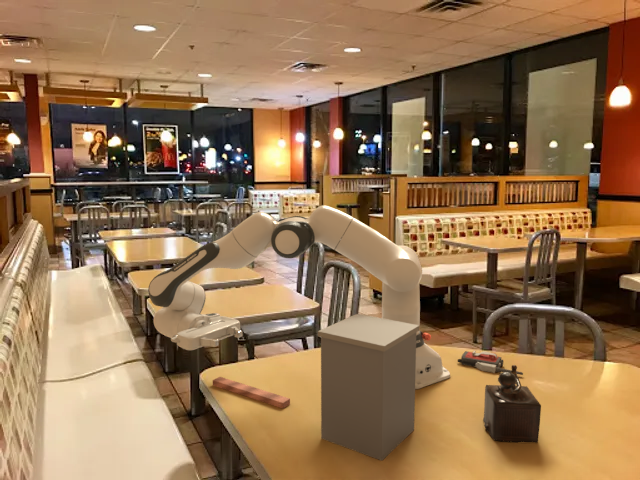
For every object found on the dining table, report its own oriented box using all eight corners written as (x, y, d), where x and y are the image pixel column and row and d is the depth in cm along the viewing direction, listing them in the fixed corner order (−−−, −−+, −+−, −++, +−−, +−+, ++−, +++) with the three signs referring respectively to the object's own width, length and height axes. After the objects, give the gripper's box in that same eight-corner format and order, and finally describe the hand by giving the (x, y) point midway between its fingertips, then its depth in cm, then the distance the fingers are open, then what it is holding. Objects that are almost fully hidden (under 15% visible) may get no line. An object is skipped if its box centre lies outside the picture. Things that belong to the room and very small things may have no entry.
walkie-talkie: (455, 367, 165) (522, 379, 155) (455, 353, 165) (523, 365, 155) (462, 358, 173) (526, 369, 163) (462, 345, 172) (527, 355, 162)
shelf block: (318, 438, 122) (317, 331, 118) (356, 410, 135) (357, 313, 132) (382, 462, 112) (384, 346, 108) (416, 429, 126) (419, 325, 122)
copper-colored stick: (212, 386, 152) (212, 380, 151) (220, 383, 154) (220, 376, 154) (283, 410, 137) (283, 402, 137) (290, 405, 139) (290, 398, 139)
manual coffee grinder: (479, 419, 131) (482, 350, 128) (525, 420, 130) (529, 351, 127) (496, 453, 115) (500, 376, 113) (548, 455, 115) (553, 377, 112)
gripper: (166, 328, 146) (200, 338, 139) (220, 311, 163) (253, 319, 155) (167, 349, 147) (201, 360, 140) (220, 331, 164) (253, 339, 156)
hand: (229, 338), depth 147 cm, fingers open, 8 cm apart
